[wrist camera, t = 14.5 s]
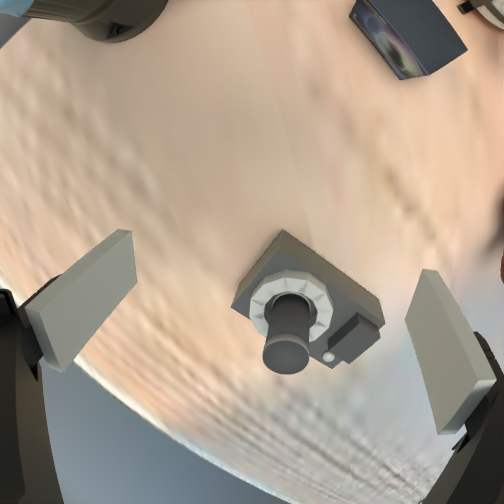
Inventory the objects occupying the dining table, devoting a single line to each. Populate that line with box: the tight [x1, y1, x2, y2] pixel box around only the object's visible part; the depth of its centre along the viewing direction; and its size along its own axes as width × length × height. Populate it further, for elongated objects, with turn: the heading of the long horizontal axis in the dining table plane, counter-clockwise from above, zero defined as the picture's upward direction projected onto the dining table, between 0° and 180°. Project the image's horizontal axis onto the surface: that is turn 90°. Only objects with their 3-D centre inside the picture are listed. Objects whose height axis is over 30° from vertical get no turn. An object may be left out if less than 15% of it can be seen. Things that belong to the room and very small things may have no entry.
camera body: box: [231, 230, 386, 369], centre depth 43 cm, size 18×11×8 cm, turn 56°
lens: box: [263, 291, 310, 374], centre depth 37 cm, size 5×5×10 cm
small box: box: [349, 0, 468, 80], centre depth 25 cm, size 11×6×10 cm, turn 40°
